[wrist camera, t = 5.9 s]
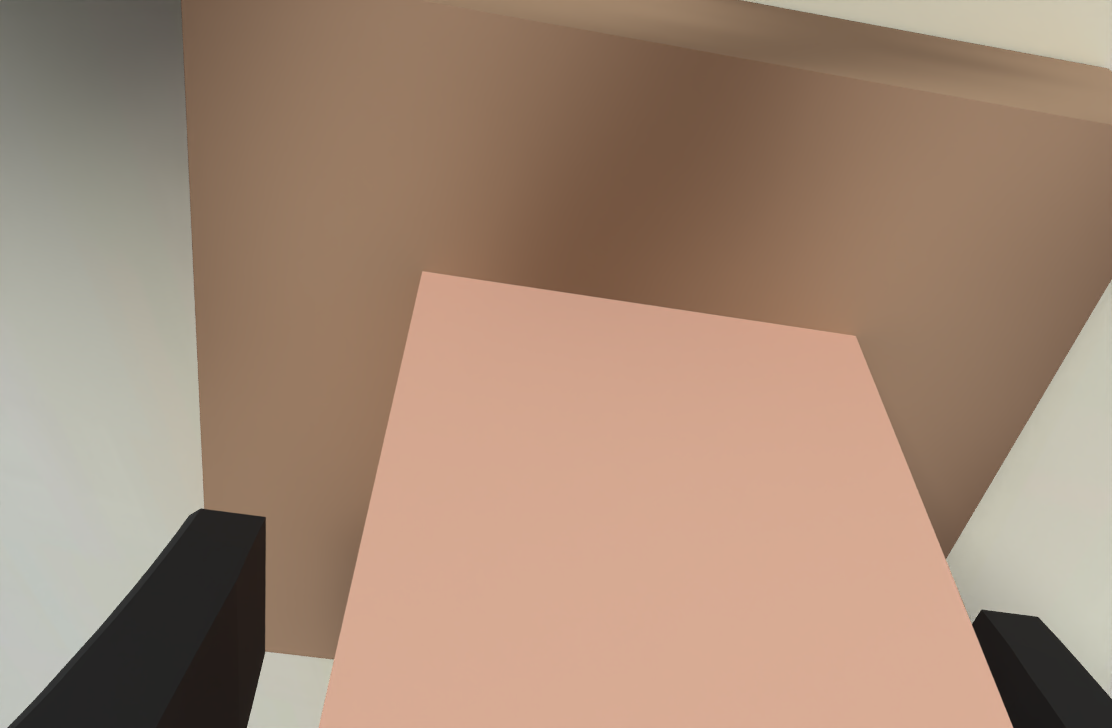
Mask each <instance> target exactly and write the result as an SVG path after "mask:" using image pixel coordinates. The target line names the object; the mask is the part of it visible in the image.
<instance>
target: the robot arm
mask: <svg viewBox="0 0 1112 728" xmlns="http://www.w3.org/2000/svg"><path fill="white" fill-rule="evenodd" d="M265 596H266V517H262V516H255V515H247V514H239V513H232V512H224V511H216V510H208V509H199V510H198V511H196V512H194V513H193V514H191V515H189V517H188V518H187V519H186V521H185V522H184V523H183V525H182V526H181V527H180V529H179V530H178V531H177V533H176V534H175V536H174V537H173V538H172V540H171V541H170V542H169V543H168V545H167V546H166V547H165V549H164V550H163V551H162V552H161V554H160V555H159V556H158V558H157V559H156V560H155V561H154V563H153V564H152V565H151V566H150V568H149V569H148V570H147V572H146V573H145V574H144V575H143V576H142V578H141V579H140V580H139V581H138V583H137V584H136V585H135V586H134V587H133V589H132V590H131V591H130V592H129V593H128V595H127V596H126V597H125V598H124V599H123V601H122V602H121V603H120V604H119V605H118V607H117V608H116V609H115V610H114V611H113V612H112V614H111V615H110V616H109V617H108V618H107V620H106V621H105V622H104V623H103V624H102V625H101V627H100V628H99V629H98V630H97V631H96V632H95V633H94V634H93V636H92V637H91V638H90V639H89V640H88V641H87V642H86V643H85V644H84V646H83V647H82V648H81V649H80V650H79V651H78V652H77V653H76V654H75V656H74V657H73V658H72V659H71V660H70V661H69V662H68V663H67V664H66V666H65V667H64V668H63V669H62V670H61V671H60V672H59V673H58V674H57V676H56V677H55V678H54V679H53V680H52V681H51V682H50V683H49V684H48V686H47V687H46V688H45V689H44V690H43V691H42V692H41V693H40V694H39V695H38V696H37V698H36V699H35V700H34V701H33V702H32V703H31V704H30V705H29V706H28V707H27V708H26V709H25V710H24V711H23V712H22V713H21V714H20V715H19V716H18V717H17V719H16V720H15V721H14V722H13V723H12V724H11V725H10V726H9V727H8V728H247V724H248V721H249V717H250V713H251V709H252V705H253V700H254V696H255V692H256V688H257V684H258V680H259V676H260V671H261V667H262V663H263V659H264V655H265ZM972 626H973V629H974V631H975V634H976V636H977V639H978V641H979V644H980V646H981V649H982V651H983V654H984V656H985V659H986V661H987V664H988V666H989V669H990V671H991V674H992V676H993V679H994V681H995V684H996V686H997V689H998V691H999V694H1000V696H1001V699H1002V701H1003V704H1004V706H1005V708H1006V711H1007V713H1008V716H1009V718H1010V721H1011V723H1012V726H1013V728H1112V699H1111V698H1110V697H1109V695H1108V694H1107V693H1106V692H1105V691H1104V690H1103V689H1102V687H1101V686H1100V685H1099V684H1098V683H1097V682H1096V681H1095V679H1094V678H1093V677H1092V676H1091V675H1090V674H1089V673H1088V671H1087V670H1086V669H1085V668H1084V667H1083V666H1082V665H1081V663H1080V662H1079V661H1078V660H1077V659H1076V658H1075V657H1074V656H1073V654H1072V653H1071V652H1070V651H1069V650H1068V649H1067V648H1066V647H1065V646H1064V644H1063V643H1062V642H1061V641H1060V640H1059V639H1058V638H1057V637H1056V636H1055V635H1054V633H1053V632H1052V631H1051V630H1050V629H1049V628H1048V627H1047V626H1046V625H1045V624H1044V623H1043V622H1042V621H1041V620H1040V619H1039V618H1038V617H1034V616H1027V615H1019V614H1011V613H1003V612H996V611H988V610H981V611H980V613H979V614H978V616H977V617H976V619H975V621H974V622H973V624H972Z"/></svg>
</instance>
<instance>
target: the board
mask: <svg viewBox="0 0 1112 728" xmlns="http://www.w3.org/2000/svg"><path fill="white" fill-rule="evenodd" d="M181 11H182V33H183V54H184V76H185V98H186V120H187V141H188V163H189V185H190V207H191V228H192V250H193V272H194V294H195V316H196V337H197V359H198V381H199V403H200V424H201V446H202V468H203V490H204V509H208V510H216V511H224V512H232V513H239V514H247V515H255V516H262V517H266V596H265V651H266V652H275V653H283V654H292V655H300V656H309V657H317V658H326V659H334V658H335V654H336V649H337V645H338V640H339V636H340V632H341V627H342V623H343V618H344V614H345V610H346V605H347V601H348V596H349V592H350V588H351V583H352V579H353V574H354V570H355V566H356V561H357V557H358V552H359V548H360V544H361V539H362V535H363V530H364V526H365V521H366V517H367V513H368V508H369V504H370V499H371V495H372V491H373V486H374V482H375V477H376V473H377V469H378V464H379V460H380V455H381V451H382V447H383V442H384V438H385V433H386V429H387V425H388V420H389V416H390V411H391V407H392V402H393V398H394V394H395V389H396V385H397V380H398V376H399V372H400V367H401V363H402V358H403V354H404V350H405V345H406V341H407V336H408V332H409V328H410V323H411V319H412V314H413V310H414V306H415V301H416V297H417V292H418V288H419V284H420V279H421V275H422V271H424V272H431V273H437V274H444V275H451V276H458V277H464V278H471V279H478V280H484V281H491V282H498V283H504V284H511V285H518V286H525V287H531V288H538V289H545V290H551V291H558V292H565V293H571V294H578V295H585V296H592V297H598V298H605V299H612V300H618V301H625V302H632V303H638V304H645V305H652V306H659V307H665V308H672V309H679V310H685V311H692V312H699V313H705V314H712V315H719V316H726V317H732V318H739V319H746V320H752V321H759V322H766V323H773V324H779V325H786V326H793V327H799V328H806V329H813V330H819V331H826V332H833V333H840V334H846V335H853V336H856V338H857V340H858V343H859V345H860V348H861V350H862V353H863V355H864V358H865V360H866V363H867V365H868V368H869V370H870V373H871V375H872V378H873V380H874V383H875V385H876V388H877V390H878V392H879V395H880V397H881V400H882V402H883V405H884V407H885V410H886V412H887V415H888V417H889V420H890V422H891V425H892V427H893V430H894V432H895V435H896V437H897V440H898V442H899V445H900V447H901V450H902V452H903V455H904V457H905V460H906V462H907V465H908V467H909V470H910V472H911V475H912V477H913V480H914V482H915V485H916V487H917V490H918V492H919V495H920V497H921V499H922V502H923V504H924V507H925V509H926V512H927V514H928V517H929V519H930V522H931V524H932V527H933V529H934V532H935V534H936V537H937V539H938V542H939V544H940V547H941V549H942V552H943V554H944V557H945V559H946V558H947V556H948V555H949V553H950V551H951V549H952V548H953V546H954V544H955V543H956V541H957V539H958V538H959V536H960V534H961V533H962V531H963V529H964V528H965V526H966V524H967V522H968V521H969V519H970V517H971V516H972V514H973V512H974V511H975V509H976V507H977V506H978V504H979V502H980V501H981V499H982V497H983V495H984V494H985V492H986V490H987V489H988V487H989V485H990V484H991V482H992V480H993V479H994V477H995V475H996V473H997V472H998V470H999V468H1000V467H1001V465H1002V463H1003V462H1004V460H1005V458H1006V457H1007V455H1008V453H1009V452H1010V450H1011V448H1012V446H1013V445H1014V443H1015V441H1016V440H1017V438H1018V436H1019V435H1020V433H1021V431H1022V430H1023V428H1024V426H1025V425H1026V423H1027V421H1028V419H1029V418H1030V416H1031V414H1032V413H1033V411H1034V409H1035V408H1036V406H1037V404H1038V403H1039V401H1040V399H1041V397H1042V396H1043V394H1044V392H1045V391H1046V389H1047V387H1048V386H1049V384H1050V382H1051V381H1052V379H1053V377H1054V376H1055V374H1056V372H1057V370H1058V369H1059V367H1060V365H1061V364H1062V362H1063V360H1064V359H1065V357H1066V355H1067V354H1068V352H1069V350H1070V349H1071V347H1072V345H1073V343H1074V342H1075V340H1076V338H1077V337H1078V335H1079V333H1080V332H1081V330H1082V328H1083V327H1084V325H1085V323H1086V321H1087V320H1088V318H1089V316H1090V315H1091V313H1092V311H1093V310H1094V308H1095V306H1096V305H1097V303H1098V301H1099V300H1100V298H1101V296H1102V294H1103V293H1104V291H1105V289H1106V288H1107V286H1108V284H1109V283H1110V281H1111V279H1112V71H1110V70H1109V69H1107V68H1102V67H1097V66H1091V65H1086V64H1081V63H1075V62H1070V61H1064V60H1059V59H1054V58H1048V57H1043V56H1038V55H1032V54H1027V53H1021V52H1016V51H1011V50H1005V49H1000V48H994V47H989V46H984V45H978V44H973V43H968V42H962V41H957V40H951V39H946V38H941V37H935V36H930V35H924V34H919V33H914V32H908V31H903V30H898V29H892V28H887V27H881V26H876V25H871V24H865V23H860V22H854V21H849V20H844V19H838V18H833V17H828V16H822V15H817V14H811V13H806V12H801V11H795V10H790V9H784V8H779V7H774V6H768V5H763V4H758V3H752V2H747V1H741V0H181Z"/></svg>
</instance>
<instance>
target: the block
mask: <svg viewBox="0 0 1112 728" xmlns="http://www.w3.org/2000/svg"><path fill="white" fill-rule="evenodd" d="M319 728H1013V726H1012V723H1011V721H1010V718H1009V716H1008V713H1007V711H1006V708H1005V706H1004V704H1003V701H1002V699H1001V696H1000V694H999V691H998V689H997V686H996V684H995V681H994V679H993V676H992V674H991V671H990V669H989V666H988V664H987V661H986V659H985V656H984V654H983V651H982V649H981V646H980V644H979V641H978V639H977V636H976V634H975V631H974V629H973V626H972V624H971V621H970V619H969V616H968V614H967V611H966V609H965V606H964V604H963V601H962V599H961V597H960V594H959V592H958V589H957V587H956V584H955V582H954V579H953V577H952V574H951V572H950V569H949V567H948V564H947V562H946V559H945V557H944V554H943V552H942V549H941V547H940V544H939V542H938V539H937V537H936V534H935V532H934V529H933V527H932V524H931V522H930V519H929V517H928V514H927V512H926V509H925V507H924V504H923V502H922V499H921V497H920V495H919V492H918V490H917V487H916V485H915V482H914V480H913V477H912V475H911V472H910V470H909V467H908V465H907V462H906V460H905V457H904V455H903V452H902V450H901V447H900V445H899V442H898V440H897V437H896V435H895V432H894V430H893V427H892V425H891V422H890V420H889V417H888V415H887V412H886V410H885V407H884V405H883V402H882V400H881V397H880V395H879V392H878V390H877V388H876V385H875V383H874V380H873V378H872V375H871V373H870V370H869V368H868V365H867V363H866V360H865V358H864V355H863V353H862V350H861V348H860V345H859V343H858V340H857V338H856V336H853V335H846V334H840V333H833V332H826V331H819V330H813V329H806V328H799V327H793V326H786V325H779V324H773V323H766V322H759V321H752V320H746V319H739V318H732V317H726V316H719V315H712V314H705V313H699V312H692V311H685V310H679V309H672V308H665V307H659V306H652V305H645V304H638V303H632V302H625V301H618V300H612V299H605V298H598V297H592V296H585V295H578V294H571V293H565V292H558V291H551V290H545V289H538V288H531V287H525V286H518V285H511V284H504V283H498V282H491V281H484V280H478V279H471V278H464V277H458V276H451V275H444V274H437V273H431V272H424V271H422V275H421V279H420V284H419V288H418V292H417V297H416V301H415V306H414V310H413V314H412V319H411V323H410V328H409V332H408V336H407V341H406V345H405V350H404V354H403V358H402V363H401V367H400V372H399V376H398V380H397V385H396V389H395V394H394V398H393V402H392V407H391V411H390V416H389V420H388V425H387V429H386V433H385V438H384V442H383V447H382V451H381V455H380V460H379V464H378V469H377V473H376V477H375V482H374V486H373V491H372V495H371V499H370V504H369V508H368V513H367V517H366V521H365V526H364V530H363V535H362V539H361V544H360V548H359V552H358V557H357V561H356V566H355V570H354V574H353V579H352V583H351V588H350V592H349V596H348V601H347V605H346V610H345V614H344V618H343V623H342V627H341V632H340V636H339V640H338V645H337V649H336V654H335V658H334V662H333V667H332V671H331V676H330V680H329V685H328V689H327V693H326V698H325V702H324V707H323V711H322V715H321V720H320V724H319Z"/></svg>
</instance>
